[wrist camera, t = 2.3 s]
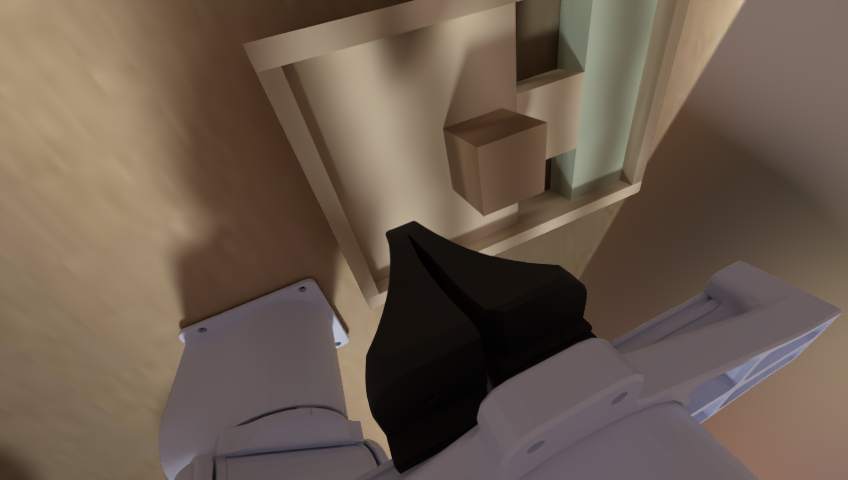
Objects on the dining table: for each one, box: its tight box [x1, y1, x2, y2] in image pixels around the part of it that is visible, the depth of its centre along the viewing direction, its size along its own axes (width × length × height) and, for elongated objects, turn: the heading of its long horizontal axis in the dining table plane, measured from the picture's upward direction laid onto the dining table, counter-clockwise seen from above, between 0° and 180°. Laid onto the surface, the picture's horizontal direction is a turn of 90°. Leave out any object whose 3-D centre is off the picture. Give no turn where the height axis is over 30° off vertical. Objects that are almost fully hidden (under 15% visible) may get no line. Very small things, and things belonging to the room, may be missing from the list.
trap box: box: [242, 0, 689, 309], centre depth 20 cm, size 24×16×4 cm, turn 102°
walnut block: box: [443, 108, 548, 216], centre depth 18 cm, size 4×4×4 cm
